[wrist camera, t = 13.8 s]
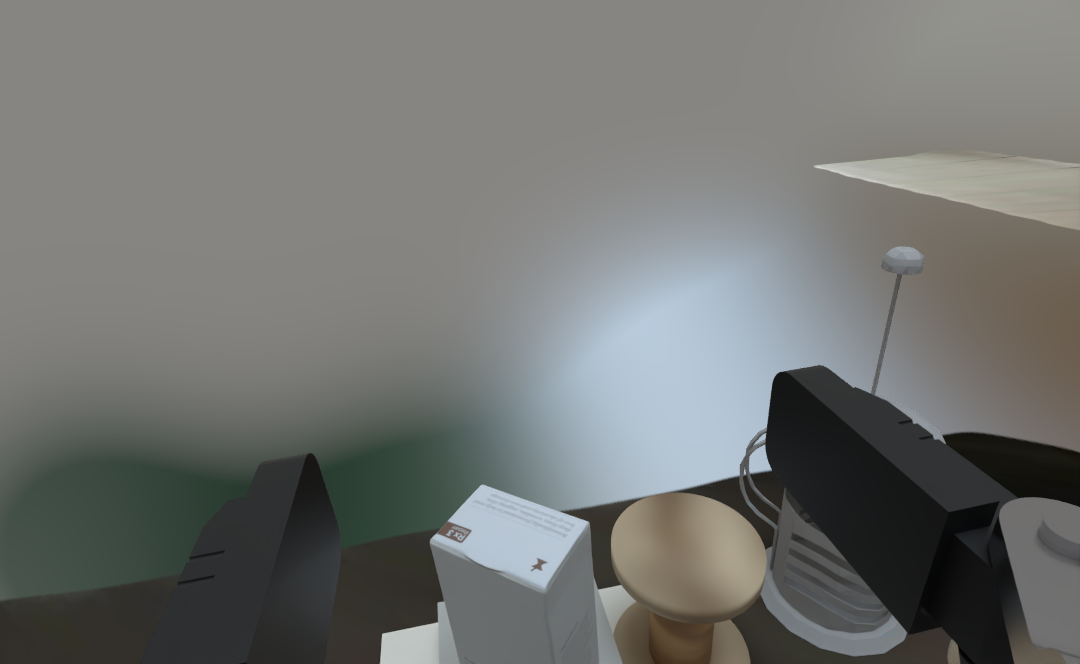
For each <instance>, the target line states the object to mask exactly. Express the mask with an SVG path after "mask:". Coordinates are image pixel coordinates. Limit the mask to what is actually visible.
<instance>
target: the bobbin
mask: <svg viewBox="0 0 1080 664" xmlns="http://www.w3.org/2000/svg"><path fill="white" fill-rule="evenodd" d="M611 558H612V565H613V569H614V572H615V574H616V576H617V578H618V580H619V582H620V584H621V585H622V587H623V588H624V589H625V590H626V592H627V593H628V594H629V595H630V596H631V597H632V598H633V599H634V600H635V601H636V602H635V603H633V604H632V605H631V606H629V607H628V608H627V609H626V610H625V611H624V613H623V614H622V615H621V617H620V618H619V620H618V622H617V624H616V627H615V630H614V634H613V636H614V639H615V642H616V645H617V648H618V651H619V654H620V657H621V660H622V663H623V664H750V657H749V652H748V649H747V646H746V643H745V641H744V639H743V637H742V635H741V633H740V632H739V630H738V629H737V627H736V626H735V625H734V623H733V622H732V621H731V620H730V619H732V618H734V617H736V616H738V615H740V614H742V613H743V612H745V611H746V610H747V609H749V608H750V607H751V606H752V605H753V604H754V602H755V601H756V600H757V599H758V597H759V595H760V593H761V591H762V588H763V584H764V579H765V573H766V564H767V558H766V551H765V547H764V544H763V542H762V540H761V538H760V536H759V535H758V533H757V531H756V530H755V529H754V527H753V526H752V525H751V524H750V523H749V522H748V521H747V520H746V519H745V518H744V517H743V516H741V515H740V514H739V513H738V512H736V511H735V510H733V509H732V508H730V507H728V506H726V505H724V504H722V503H720V502H718V501H715V500H713V499H710V498H707V497H704V496H699V495H695V494H688V493H664V494H658V495H654V496H650V497H647V498H644V499H642V500H640V501H638V502H636V503H634V504H633V505H631V506H629V507H628V508H627V509H626V510H625V511H624V512H623V513H622V514H621V515H620V516H619V518H618V520H617V521H616V523H615V525H614V528H613V531H612V536H611Z"/></svg>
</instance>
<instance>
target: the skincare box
mask: <svg viewBox="0 0 1080 664" xmlns="http://www.w3.org/2000/svg"><path fill="white" fill-rule="evenodd" d="M430 546H431V550H432V554H433V558H434V561H435V565H436V570H437V574H438V578H439V582H440V586H441V590H442V594H443V598H444V602H445V606H446V610H447V614H448V618H449V622H450V626H451V630H452V634H453V638H454V642H455V646H456V650H457V654H458V658H459V662H460V664H599V650H598V637H597V622H596V608H595V592H594V578H593V562H592V554H591V533H590V524H589V522H587V521H585V520H582V519H579V518H576V517H573V516H570V515H567V514H564V513H561V512H559V511H556V510H553V509H550V508H547V507H544V506H542V505H539V504H536V503H533V502H530V501H527V500H524V499H522V498H519V497H516V496H513V495H510V494H507V493H505V492H502V491H499V490H496V489H494V488H491V487H488V486H486V485H481V486H480V487H479V488H478V489H477V490H476V491H475V492H474V493H473V494H472V495H471V497H469V498H468V500H467V501H466V502H465V503H464V504H463V505H462V506H461V507H460V508H459V509H458V511H457V512H456V513H455V514H454V515H453V516H452V517H451V518H450V519H449V520H448V522H447V523H446V524H445V525H444V526H443V527H442V528H441V529H440V530H439V531H438V532H437V534H435V535H434V536H433V537H432V539H431V540H430Z"/></svg>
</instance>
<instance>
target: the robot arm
mask: <svg viewBox="0 0 1080 664" xmlns="http://www.w3.org/2000/svg"><path fill="white" fill-rule="evenodd" d="M765 445H766V454H767V458H768V462H769V464H770V467H771V469H772V471H773V472H774V474H775V475H776V477H777V478H778V479H779V481H780V482H781V483H782V484H783V485H784V486H785V488H786V489H787V490H788V491H789V492H790V494H791V495H792V496H793V497H794V498H795V500H796V501H797V502H798V503H799V504H800V506H801V507H802V508H803V509H804V510H805V511H806V513H807V514H808V515H809V516H810V517H811V519H812V520H813V521H814V522H815V523H816V525H817V526H818V527H819V528H820V529H821V531H822V532H823V533H824V534H825V535H826V537H827V538H828V539H829V540H830V541H831V542H832V544H833V545H834V546H835V547H836V548H837V550H838V551H839V552H840V553H841V554H842V556H843V557H844V558H845V559H846V560H847V562H848V563H849V564H850V565H851V566H852V567H853V569H854V570H855V571H856V572H857V573H858V575H859V576H860V577H861V578H862V579H863V581H864V582H865V583H866V584H867V585H868V587H869V588H870V589H871V590H872V591H873V593H874V594H875V595H876V596H877V597H878V598H879V600H880V601H881V602H882V603H883V604H884V606H885V607H886V608H887V609H888V610H889V612H890V613H891V614H892V615H893V616H894V618H895V619H896V620H897V621H898V622H899V623H900V625H901V626H902V627H903V628H904V629H905V631H906V632H907V633H908V634H909V635H910V634H914V633H918V632H922V631H926V630H930V629H934V628H938V627H942V628H943V629H944V630H945V632H946V633H947V634H948V635H949V636H950V637H951V638H952V639H951V642H950V645H949V648H948V664H1080V507H1077V506H1074V505H1071V504H1068V503H1065V502H1061V501H1057V500H1051V499H1045V498H1034V497H1032V498H1020V499H1019V498H1017V497H1016V496H1015V495H1013V494H1012V493H1011V492H1009V491H1008V490H1007V489H1005V488H1004V487H1003V486H1001V485H1000V484H999V483H997V482H996V481H994V480H993V479H992V478H990V477H989V476H988V475H986V474H985V473H984V472H982V471H981V470H980V469H978V468H977V467H976V466H974V465H973V464H972V463H970V462H969V461H968V460H966V459H965V458H964V457H962V456H961V455H960V454H958V453H957V452H955V451H954V450H953V449H951V448H950V447H949V446H947V445H946V444H945V443H943V442H942V441H941V440H939V439H936V440H935V439H934V437H933V434H931V433H930V432H929V431H927V430H926V429H925V428H923V427H922V426H921V425H919V424H918V423H916V424H914V423H913V421H912V419H911V418H910V417H908V416H907V415H906V414H904V413H903V412H902V411H900V410H899V409H898V408H896V407H895V406H894V405H892V404H891V403H890V402H888V401H886V400H884V399H882V398H879V397H877V396H875V395H872V394H870V393H868V392H866V391H863V390H861V389H859V388H856V387H855V388H852V387H851V386H850V385H849V384H848V383H846V382H845V381H844V380H842V379H841V378H840V377H838V376H837V375H836V374H835V373H833V372H832V371H831V370H829V369H828V368H826V367H824V366H821V365H818V366H813V367H807V368H801V369H795V370H790V371H784V372H779V373H778V374H777V375H776V376H775V378H774V380H773V384H772V391H771V399H770V407H769V416H768V424H767V432H766V441H765ZM189 558H190V562H189V563H187V564H186V565H185V567H184V570H183V572H182V574H181V576H180V578H179V580H178V588H177V589H174V591H173V593H172V595H171V598H170V600H169V602H168V604H167V606H166V608H165V610H164V613H163V615H162V617H161V619H160V621H159V623H158V626H157V628H156V630H155V632H154V634H153V636H152V638H151V641H150V643H149V645H148V647H147V649H146V651H145V653H144V656H143V658H142V660H141V662H140V664H324V660H325V654H326V648H327V642H328V636H329V629H330V623H331V617H332V611H333V605H334V599H335V592H336V586H337V580H338V574H339V568H340V561H341V541H340V532H339V527H338V523H337V519H336V516H335V513H334V510H333V507H332V504H331V501H330V498H329V495H328V492H327V489H326V486H325V483H324V480H323V477H322V473H321V470H320V467H319V464H318V462H317V459H316V458H315V456H314V455H313V454H311V453H309V454H303V455H297V456H291V457H286V458H280V459H275V460H269V461H263V462H262V463H261V464H260V465H259V466H258V469H257V471H256V473H255V476H254V479H253V481H252V484H251V486H250V489H249V491H248V494H247V496H246V497H244V498H238V499H232V500H229V501H228V502H227V503H226V504H225V505H224V506H223V507H222V508H221V509H220V510H219V511H218V512H217V513H216V514H215V515H214V517H212V519H211V520H210V521H209V522H208V523H207V524H206V525H205V526H204V527H203V529H202V531H201V533H200V535H199V537H198V540H197V542H196V544H195V546H194V548H193V550H192V552H191V555H190V557H189Z"/></svg>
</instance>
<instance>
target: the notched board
mask: <svg viewBox="0 0 1080 664" xmlns="http://www.w3.org/2000/svg"><path fill="white" fill-rule="evenodd" d="M593 578H594V577H593ZM594 592H595V608H596V622H597V637H598V650H599V664H623V663H622V660H621V657H620V654H619V651H618V648H617V645H616V642H615V639H614V636H613V634H614V630H615V627H616V624H617V622H618V620H619V618H620V617H621V615H622V614H623V613H624V611H625V610H626V609H627V608H628V607H629V606H631V605H632V604H633V603H635V602H636V601H635V600H634V599H633V598H632V597H631V596H630V595H629V594H628V593H627V592H626V590H625V589H624V588H623V587H622V585H620V586H615V587H610V588H605V589H600V590H598V588H597V585H596V583H595V580H594ZM380 664H460V662H459V658H458V654H457V650H456V646H455V642H454V638H453V634H452V630H451V626H450V622H449V618H448V614H447V610H446V606H445V602H439V603H438V623H434V624H429V625H424V626H419V627H414V628H409V629H404V630H399V631H395V632H390V633H385V634H382V646H381V660H380Z"/></svg>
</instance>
